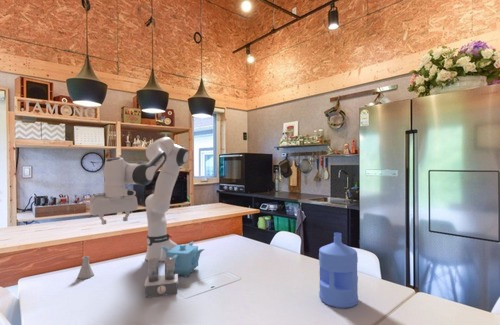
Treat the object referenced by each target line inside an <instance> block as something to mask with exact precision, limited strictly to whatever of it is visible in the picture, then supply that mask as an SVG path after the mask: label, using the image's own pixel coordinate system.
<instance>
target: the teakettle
mask: <svg viewBox="0 0 500 325" xmlns="http://www.w3.org/2000/svg"><path fill="white" fill-rule="evenodd" d="M193 244H194V241H190V242H189V245H187V244H177V246H176V247H174V248H172V249H171V250H168V248H166V247H161V248H163V249H164V250H165V252H166V258H168V257H174V258H175V274H178V275H182V276H183V277H186V278H187V277H189V276H190V274H191V273H192V272H194V271H195V269H197V267H199V259H200V256H201V254H202V253H203V252H204V251H205V250H206V249H205V248H202V249H199V246H198V245H193Z"/></svg>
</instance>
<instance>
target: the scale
mask: <svg viewBox="0 0 500 325" xmlns="http://www.w3.org/2000/svg"><path fill="white" fill-rule="evenodd" d="M178 283H179V274H175V279H173V280H165V274H163V275H159V280H158V281H155V282H149V280H148V276H147V277H145V281H144V287H145V298H151V297H152V298H154V297H161V296H168V295H169V296H170V295H177V294H178Z"/></svg>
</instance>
